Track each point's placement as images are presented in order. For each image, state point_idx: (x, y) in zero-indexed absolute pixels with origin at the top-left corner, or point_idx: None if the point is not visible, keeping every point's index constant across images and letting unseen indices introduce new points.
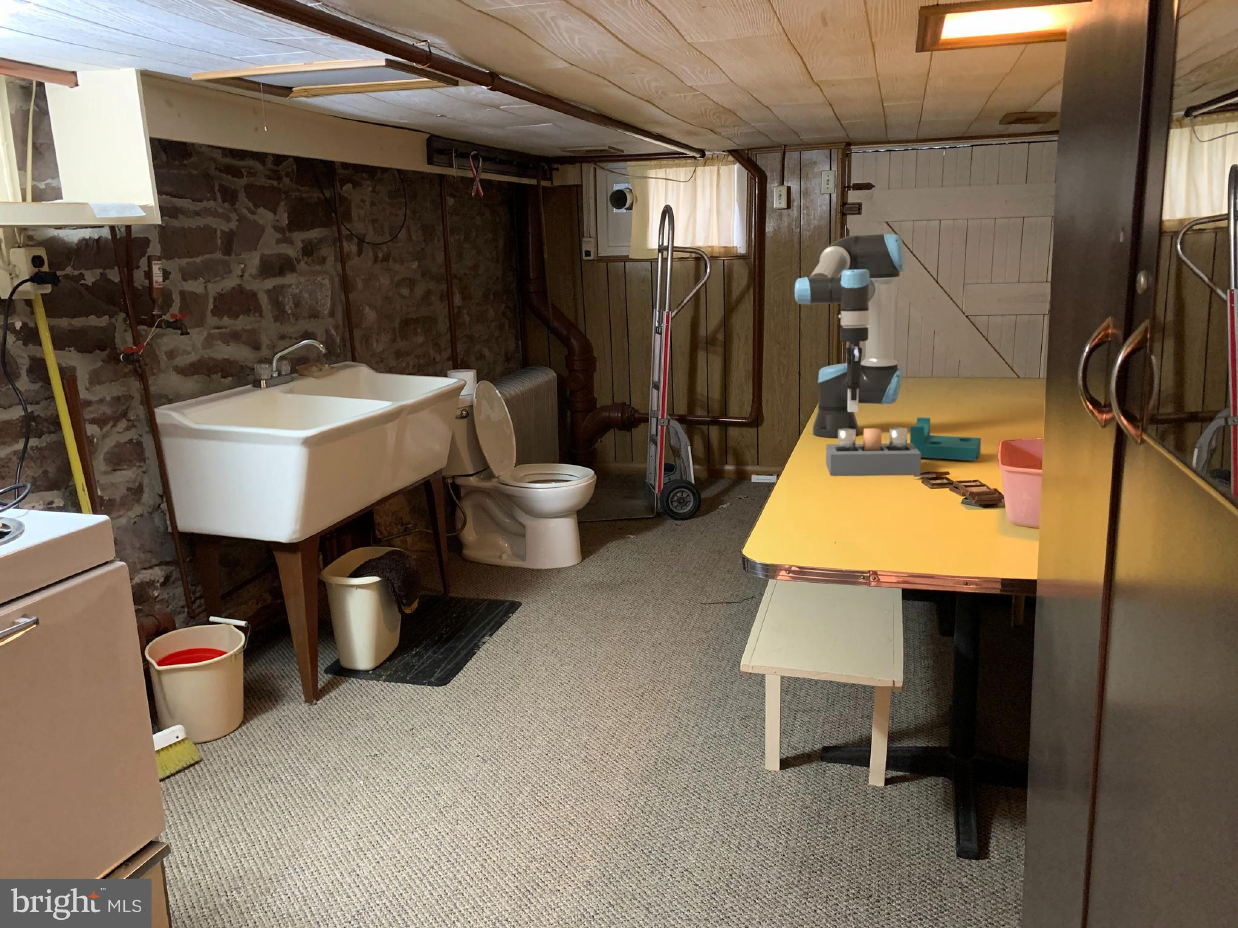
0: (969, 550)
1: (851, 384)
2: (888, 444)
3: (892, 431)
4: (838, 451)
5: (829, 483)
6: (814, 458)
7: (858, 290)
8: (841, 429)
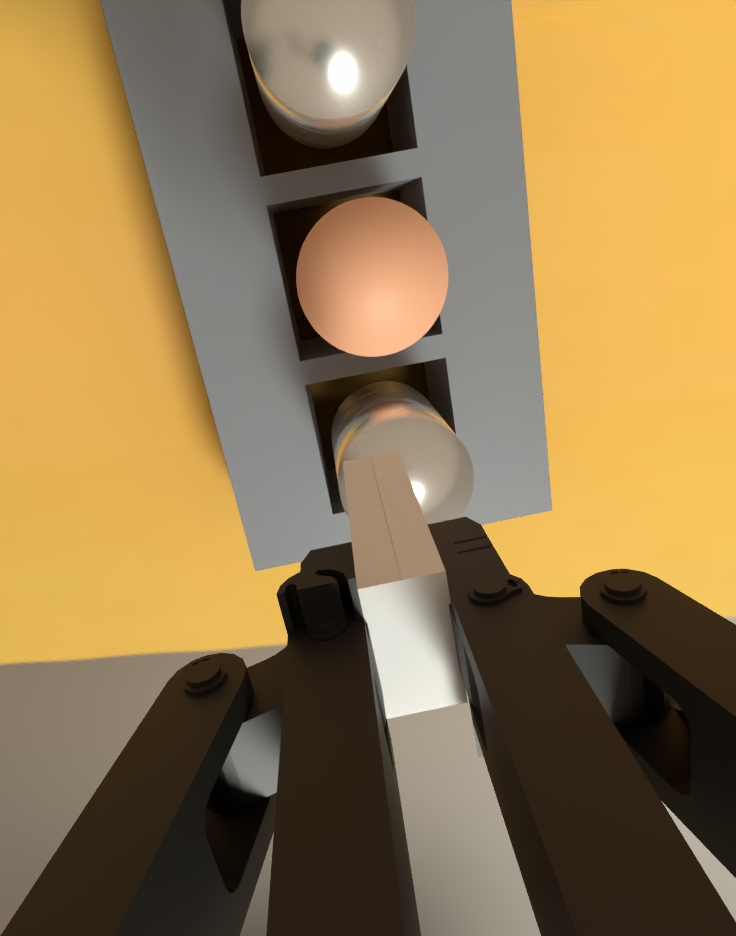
0: None
1: (683, 712)
2: (186, 152)
3: (394, 86)
4: None
5: (661, 454)
6: (128, 590)
7: None
8: None
